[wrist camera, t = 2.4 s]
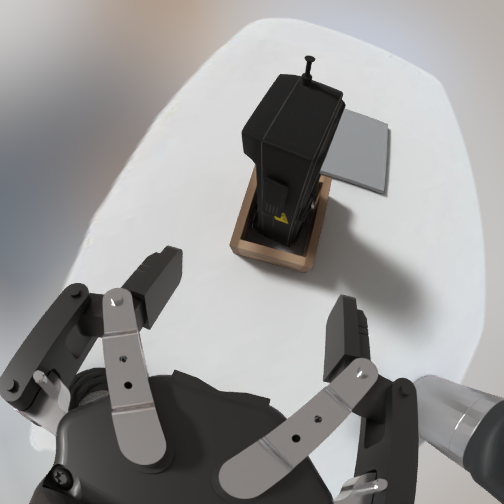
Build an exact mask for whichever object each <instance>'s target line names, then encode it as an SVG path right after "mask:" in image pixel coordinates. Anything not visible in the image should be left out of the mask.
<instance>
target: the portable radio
mask: <svg viewBox="0 0 504 504" xmlns="http://www.w3.org/2000/svg"><path fill="white" fill-rule="evenodd" d="M305 60H306V61H307V65H306V71H305V73H303V74H302V76H297V75H288V74H280V75H279V76H278V77H277V79H276V80H275V82H274V83H273V85H272V86H271V87H270V89H269V90H268V92H267V93H266V95H265V96H264V98H263V99H262V101H261V102H260V103H259V105H258V106H257V108H256V109H255V111H254V112H253V114H252V116H251V117H250V119H249V120H248V122H247V123H246V125H245V126H244V128H243V130H242V142H243V150H244V153H245V154H246V155H247V156H248V157H249V158H251V159H252V160H253V162H254V163H255V164H256V179H257V202H258V212H257V214H256V216H255V218H254V220H253V222H252V223H253V228H254V229H255V230H256V231H257V232H258V233H259V234H261V235H263V236H265V237H267V238H269V239H272V240H274V241H276V242H278V243H281V244H283V245H285V246H290V245H294V244H295V242H296V240H297V238H298V236H299V234H300V231H301V229H302V227H303V225H304V222H305V220H306V218H307V215H308V213H309V211H310V208H311V204H312V200H313V198H314V196H315V195H316V194H317V188H318V182H319V179H320V177H321V174H320V170H321V168H322V165H323V163H324V161H325V158H326V156H327V153H328V150H329V148H330V145H331V143H332V140H333V138H334V135H335V132H336V130H337V127H338V124H339V122H340V119H341V117H342V114H343V111H344V108H345V106H346V105H345V103H344V101H343V100H342V96H343V93H342V91H339V90H337V89H334V88H332V87H329V86H327V85H324V84H322V83H319V82H316V81H313V80H312V76H311V75H310V70H311V64H312V62H314V61H315V58H314V57H312V56H305Z"/></svg>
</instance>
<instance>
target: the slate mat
mask: <svg viewBox="0 0 504 504" xmlns="http://www.w3.org/2000/svg"><path fill="white" fill-rule="evenodd" d="M387 136H388V124H386V123H384V122H381V121H379V120H376V119H373V118H370V117H368V116H365V115H362V114H359V113H356V112H353V111H350V110H347V109H344V111H343V114H342V117H341V119H340V122H339V124H338V127H337V130H336V132H335V135H334V138H333V140H332V143H331V145H330V148H329V150H328V153H327V156H326V158H325V161H324V163H323V165H322V168H321V170H320V174H323V175H326V176H330V177H333V178H336V179H339V180H343V181H346V182H349V183H352V184H355V185H358V186H361V187H364V188H367V189H370V190H373V191H375V192H378V193H381V194H382V193H383V192H384V186H385V174H386V159H387Z"/></svg>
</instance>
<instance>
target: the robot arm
mask: <svg viewBox="0 0 504 504" xmlns="http://www.w3.org/2000/svg"><path fill="white" fill-rule="evenodd" d="M182 255H183V253H182V250H181V249H178V248H175V247H172V246H166V247H165V249H164V250H163V251H162V252H161V253H157V252H156V253H154V254H152V255H150V256H148V257H147V258H146V259H145V260H144V261H143V262H142V265H140V266H139V267H138V268H137V270H136V271H135V272H134V273H133V274H132V275H131V276H130V278H129V279H128V280H127V281H126V282H125V283H124V285H123V286H122V287H121V288H114V289H111V290H109V291H108V292H106V293H105V295H103V294H94V293H89V291H88V288H87V287H86V286H85V285H84V284H81V283H74V284H71V285H69V286H68V287H66V288H65V289H64V291H63V292H62V293H61V294H60V295H59V297H58V298H57V299H56V300H55V302H54V303H53V304H52V305H51V306H50V308H49V309H48V310H47V311H46V313H45V314H44V315H43V317H42V318H41V319H40V320H39V322H38V323H37V325H36V326H35V327H34V328H33V330H32V331H31V333H30V334H29V335H28V336H27V338H26V339H25V341H24V342H23V344H22V345H21V347H20V348H19V349H18V351H17V352H16V354H15V355H14V357H13V358H12V360H11V361H10V363H9V364H8V366H7V368H6V369H5V371H4V372H3V374H2V376H1V377H0V395H1V396H2V398H3V399H4V400H6V401H7V402H8V403H9V404H10V405H11V406H12V407H13V408H14V409H15V410H16V411H17V412H19V413H20V414H21V415H22V416H24V417H25V418H26V419H28V420H30V421H31V422H33V423H34V424H35V425H37V426H40V427H44V428H45V429H46V430H48V431H49V432H51V433H52V434H54V435H55V436H56V457H55V461H54V464H53V467H52V468H51V470H50V471H49V473H48V474H47V475H46V477H44V479H43V480H42V481H41V482H40V483H39V485H38V486H37V488H36V489H35V491H34V494H33V496H32V498H31V500H30V503H29V504H414V500H415V492H416V482H417V469H418V468H417V467H418V435H419V436H420V437H422V438H423V439H424V440H425V441H427V442H428V443H429V444H431V445H432V446H434V447H435V448H436V449H437V450H439V451H440V452H442V453H443V454H444V455H446V456H447V457H448V458H450V459H451V460H453V461H454V462H455V463H457V464H458V465H460V466H461V467H462V468H464V469H465V470H467V471H468V472H470V473H471V476H472V478H473V479H474V481H475V482H476V483H478V484H479V485H480V486H481V487H483V488H484V489H485V490H486V491H488V492H489V493H490V494H491V495H492V496H494V497H495V498H496V499H497V500H498V501H500V502H501V503H502V504H504V398H502V397H498V396H495V395H491V394H488V393H485V392H482V391H479V390H475V389H472V388H469V387H466V386H463V385H460V384H457V383H454V382H452V381H449V380H446V379H443V378H440V377H438V376H435V375H427V376H424V377H422V378H420V379H418V380H417V381H415V382H414V383H412V382H411V381H410V380H408V379H406V378H398V379H397V380H395V381H394V382H392V381H390V380H388V379H386V378H384V377H382V376H380V375H379V374H378V370H377V368H376V366H375V365H374V363H372V362H371V359H370V346H369V336H368V329H367V328H368V326H367V318H366V317H365V315H364V313H363V311H362V310H358V309H357V304H356V298H353V297H350V296H346V295H342V294H341V295H340V296H339V298H338V300H337V302H336V304H335V305H334V307H333V309H332V311H331V313H330V315H329V317H328V320H327V324H326V342H325V360H324V375H323V381H324V382H329V383H330V384H329V385H328V386H327V387H325V388H323V389H322V390H321V391H320V392H319V393H318V394H317V395H315V396H314V397H313V398H312V399H311V400H310V401H309V402H307V403H306V404H305V405H304V406H303V407H302V408H300V409H299V410H298V411H297V412H296V413H294V414H293V415H292V416H291V417H289V418H288V419H287V418H286V417H285V416H284V415H283V414H282V413H281V412H279V411H278V410H277V409H275V408H274V407H272V406H270V405H269V403H270V399H269V398H265V397H261V396H257V395H253V394H249V393H239V392H223V391H219V390H217V389H215V388H213V387H212V386H210V385H208V384H207V383H205V382H203V381H202V380H200V379H199V378H197V377H194V376H191V375H188V374H185V373H183V372H180V371H177V370H174V372H173V374H172V375H156V376H151V377H149V373H148V370H147V366H146V362H145V357H144V353H143V348H142V343H141V338H140V333H139V332H140V330H141V329H142V327H144V328H147V329H149V330H150V329H151V327H152V326H153V324H154V322H155V321H156V319H157V318H158V316H159V314H160V313H161V311H162V310H163V308H164V307H165V305H166V303H167V302H168V300H169V299H170V297H171V296H172V294H173V293H174V291H175V289H176V288H177V286H178V285H179V283H180V280H181V277H182ZM98 337H101V338H102V341H103V351H104V360H105V368H106V375H107V382H108V388H109V394H110V395H107V396H105V397H103V398H100V399H98V400H95V401H93V402H90V403H88V404H85V405H83V406H80V407H78V408H75V409H73V410H71V411H69V412H68V407H69V403H70V392H69V390H68V388H69V386H70V384H71V382H72V380H73V379H74V377H75V375H76V373H77V372H78V370H79V368H80V366H81V365H82V363H83V361H84V360H85V358H86V356H87V355H88V353H89V351H90V350H91V348H92V346H93V345H94V343H95V342H96V340H97V338H98ZM351 412H353V413H355V414H357V415H359V416H361V427H360V437H359V445H358V453H357V460H356V467H355V473H354V478H351V479H349V480H348V481H346V482H345V483H344V485H343V486H342V489H341V491H340V493H339V495H338V496H337V497H336V498H335V499H334V500H333V498H332V495H331V493H330V491H329V490H328V488H327V486H326V485H325V483H324V481H323V480H322V478H321V476H320V475H319V473H318V471H317V470H316V468H315V466H314V465H313V463H312V461H311V460H310V458H309V456H308V455H309V454H310V453H311V452H312V451H313V450H314V449H316V448H317V447H318V446H319V445H320V444H321V443H322V442H323V441H324V440H325V439H326V438H327V437H328V436H329V435H330V434H331V433H332V432H333V431H334V430H335V429H336V428H337V427H338V426H339V425H340V424H341V423H342V422H343V421H344V420H345V419H346V418H347V416H348V415H349V414H350V413H351Z"/></svg>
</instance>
